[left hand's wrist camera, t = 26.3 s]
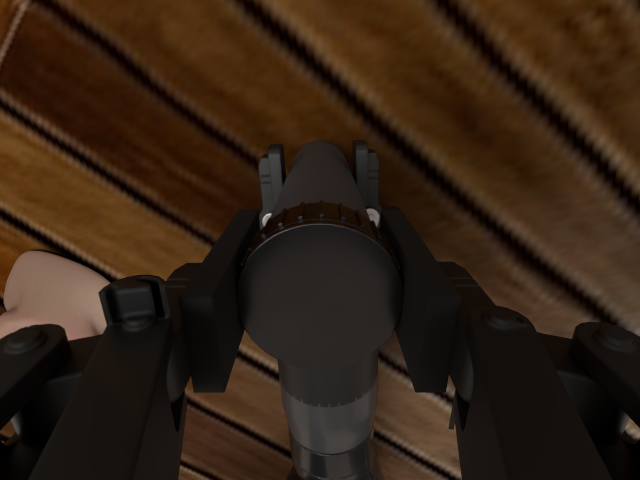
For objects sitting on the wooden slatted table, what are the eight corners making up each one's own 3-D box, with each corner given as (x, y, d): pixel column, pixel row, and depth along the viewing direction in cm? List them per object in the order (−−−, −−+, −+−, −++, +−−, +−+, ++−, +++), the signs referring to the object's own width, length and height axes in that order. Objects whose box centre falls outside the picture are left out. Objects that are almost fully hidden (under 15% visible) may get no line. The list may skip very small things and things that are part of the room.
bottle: (299, 200, 29) (268, 354, 12) (286, 147, 28) (230, 234, 10) (351, 190, 29) (398, 333, 12) (342, 135, 28) (380, 206, 10)
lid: (234, 314, 13) (219, 352, 11) (262, 181, 11) (251, 199, 9) (367, 344, 13) (374, 385, 11) (415, 221, 11) (433, 246, 10)
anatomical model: (-49, 264, 27) (107, 286, 28) (-5, 243, 31) (132, 263, 31) (-17, 397, 32) (116, 413, 33) (18, 366, 36) (136, 380, 36)
